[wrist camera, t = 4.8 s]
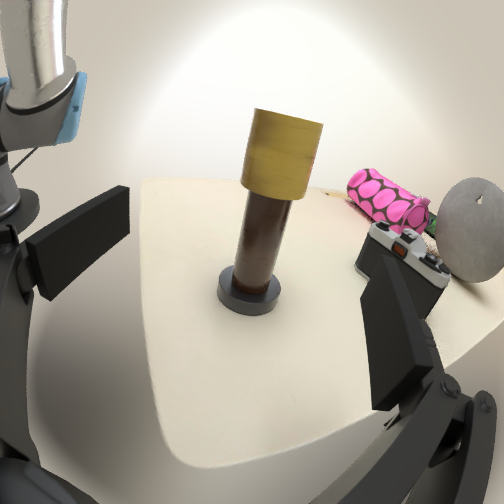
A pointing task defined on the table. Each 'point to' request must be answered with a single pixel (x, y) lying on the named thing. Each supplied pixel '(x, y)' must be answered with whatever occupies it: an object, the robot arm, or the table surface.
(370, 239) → the camera
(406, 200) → the pencil case
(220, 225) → the table surface
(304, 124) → the yellow-topped cylinder
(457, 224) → the planter
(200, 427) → the table surface
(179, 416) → the table surface
